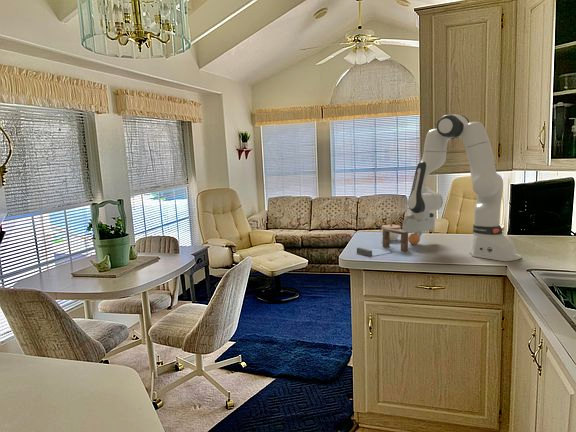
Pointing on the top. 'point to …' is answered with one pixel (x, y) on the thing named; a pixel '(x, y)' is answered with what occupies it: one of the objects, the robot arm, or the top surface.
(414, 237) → the ball
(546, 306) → the top surface
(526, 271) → the top surface
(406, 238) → the bridge
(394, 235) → the lidded jar
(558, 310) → the top surface
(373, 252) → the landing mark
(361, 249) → the stopper
